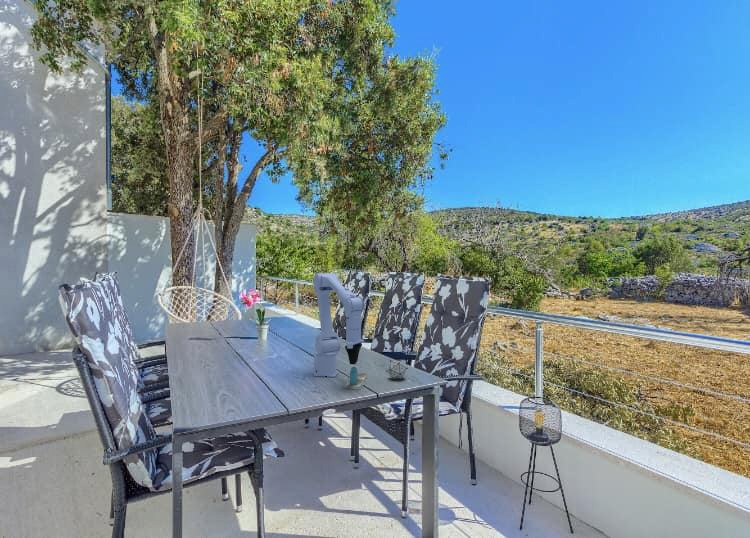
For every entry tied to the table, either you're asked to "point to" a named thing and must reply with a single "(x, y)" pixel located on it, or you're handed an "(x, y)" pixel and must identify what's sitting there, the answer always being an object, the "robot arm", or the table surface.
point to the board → (359, 382)
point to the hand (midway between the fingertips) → (353, 363)
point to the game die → (396, 369)
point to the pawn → (353, 376)
